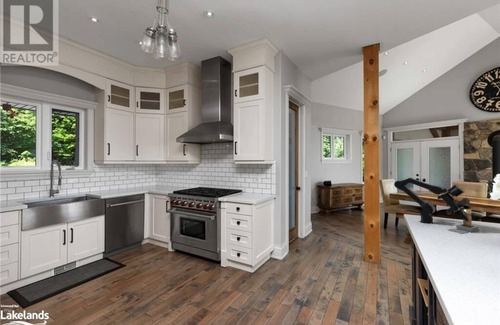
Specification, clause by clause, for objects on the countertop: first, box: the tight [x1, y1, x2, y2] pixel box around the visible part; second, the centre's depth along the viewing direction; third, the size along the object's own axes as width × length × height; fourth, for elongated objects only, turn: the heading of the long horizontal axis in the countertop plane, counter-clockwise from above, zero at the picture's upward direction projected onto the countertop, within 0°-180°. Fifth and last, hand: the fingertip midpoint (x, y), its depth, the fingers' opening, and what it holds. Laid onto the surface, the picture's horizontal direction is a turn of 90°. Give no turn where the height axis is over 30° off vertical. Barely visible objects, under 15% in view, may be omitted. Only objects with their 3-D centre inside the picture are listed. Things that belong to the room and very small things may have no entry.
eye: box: [455, 223, 480, 234], centre depth 150 cm, size 8×8×3 cm
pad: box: [447, 228, 469, 235], centre depth 148 cm, size 8×7×1 cm
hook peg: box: [462, 208, 473, 227], centre depth 150 cm, size 4×4×14 cm
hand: (469, 220), depth 149 cm, fingers closed on hook peg, 4 cm apart
